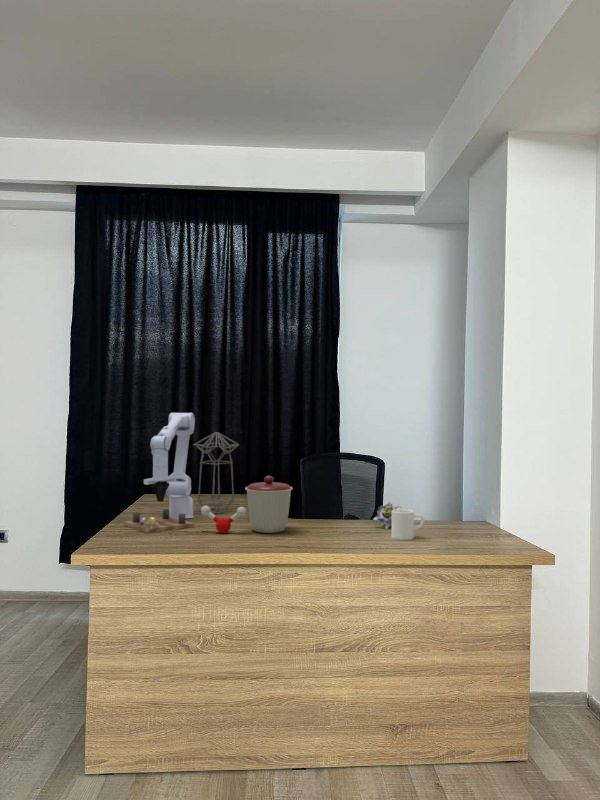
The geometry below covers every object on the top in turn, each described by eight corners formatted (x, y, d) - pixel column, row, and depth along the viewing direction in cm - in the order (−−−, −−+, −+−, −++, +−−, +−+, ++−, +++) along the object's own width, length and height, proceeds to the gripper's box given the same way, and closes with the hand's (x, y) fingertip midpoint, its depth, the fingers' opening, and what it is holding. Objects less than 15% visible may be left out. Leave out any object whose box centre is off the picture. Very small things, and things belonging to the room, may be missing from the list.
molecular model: (247, 532, 276) (247, 506, 275) (243, 535, 270) (243, 508, 270) (202, 530, 279) (203, 504, 279) (198, 533, 274) (198, 506, 273)
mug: (425, 540, 263) (425, 513, 262) (391, 539, 264) (391, 512, 264) (424, 536, 271) (424, 509, 270) (391, 535, 272) (391, 508, 272)
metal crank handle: (139, 524, 283) (139, 515, 283) (145, 523, 284) (145, 514, 284) (151, 527, 276) (151, 518, 276) (157, 526, 278) (157, 517, 278)
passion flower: (387, 542, 285) (369, 518, 284) (388, 532, 296) (371, 508, 295) (411, 528, 282) (393, 503, 281) (412, 518, 293) (394, 493, 292)
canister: (302, 531, 279) (302, 475, 279) (268, 537, 266) (268, 479, 266) (268, 524, 292) (269, 471, 292) (234, 531, 279) (235, 475, 278)
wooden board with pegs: (169, 520, 301) (169, 507, 301) (194, 527, 285) (194, 514, 285) (124, 525, 288) (124, 512, 288) (147, 533, 273) (147, 519, 273)
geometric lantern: (214, 507, 333) (215, 430, 332) (241, 511, 324) (241, 432, 323) (190, 512, 320) (190, 432, 320) (217, 516, 311) (217, 433, 310)
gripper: (168, 464, 294) (168, 498, 294) (138, 467, 283) (138, 502, 283) (180, 465, 289) (179, 500, 289) (150, 468, 278) (150, 504, 278)
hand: (160, 501), depth 286 cm, fingers closed
